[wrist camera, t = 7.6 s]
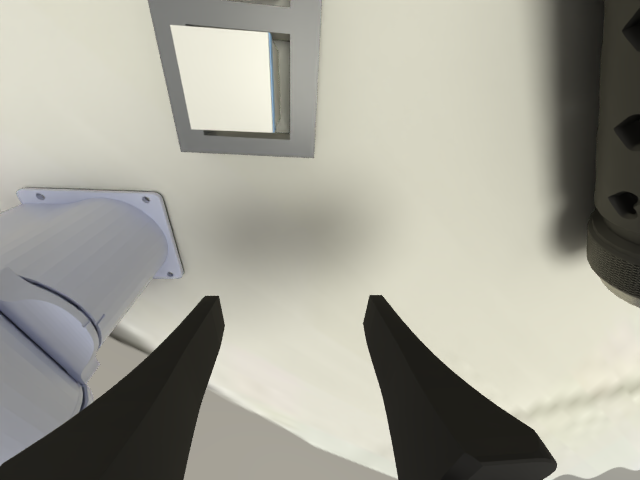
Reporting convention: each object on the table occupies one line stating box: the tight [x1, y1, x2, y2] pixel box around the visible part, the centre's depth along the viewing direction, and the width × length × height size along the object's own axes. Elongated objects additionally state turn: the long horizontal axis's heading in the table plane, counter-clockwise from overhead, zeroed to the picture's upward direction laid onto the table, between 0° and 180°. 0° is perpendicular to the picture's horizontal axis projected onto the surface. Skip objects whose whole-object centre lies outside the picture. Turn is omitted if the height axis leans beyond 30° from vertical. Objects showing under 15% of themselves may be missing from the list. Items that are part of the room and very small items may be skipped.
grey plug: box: [170, 25, 280, 133], centre depth 13 cm, size 4×4×6 cm
